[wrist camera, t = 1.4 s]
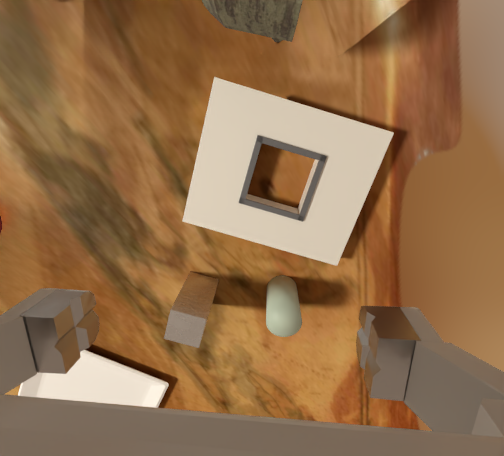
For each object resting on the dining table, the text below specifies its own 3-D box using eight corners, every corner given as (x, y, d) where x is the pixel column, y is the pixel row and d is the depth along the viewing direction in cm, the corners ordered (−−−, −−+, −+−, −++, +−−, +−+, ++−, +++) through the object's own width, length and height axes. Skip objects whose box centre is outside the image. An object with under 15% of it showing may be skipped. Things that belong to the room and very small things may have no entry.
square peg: (184, 295, 54) (164, 338, 44) (190, 271, 53) (170, 309, 42) (212, 303, 55) (198, 347, 44) (219, 279, 53) (206, 319, 43)
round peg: (263, 297, 54) (261, 331, 45) (272, 272, 52) (272, 302, 44) (291, 305, 54) (295, 340, 45) (301, 280, 52) (306, 312, 44)
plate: (132, 457, 70) (128, 467, 68) (17, 415, 67) (9, 424, 65) (172, 376, 61) (169, 384, 59) (41, 324, 59) (33, 331, 57)
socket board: (187, 215, 49) (181, 221, 46) (218, 79, 43) (213, 76, 39) (333, 257, 50) (337, 266, 47) (386, 131, 44) (394, 132, 40)
